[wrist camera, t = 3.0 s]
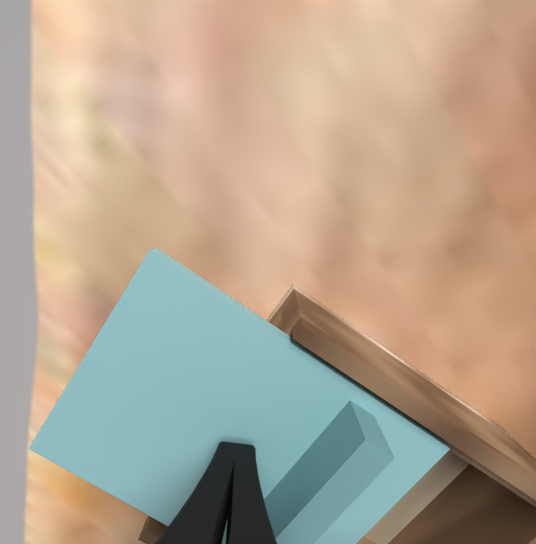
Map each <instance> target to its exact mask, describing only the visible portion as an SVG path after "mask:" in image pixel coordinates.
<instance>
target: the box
mask: <svg viewBox="0 0 536 544" xmlns="http://www.w3.org/2000/svg"><path fill="white" fill-rule="evenodd" d="M266 321H268V322H269V323H271V324H272V325H274V326H275V327H277V328H278V329H280V330H281V331H283V332H284V333H286V334H287V335H289V336H290V337H292V338H293V339H294V340H295V341H297V342H298V343H300V344H301V345H303V346H304V347H306V348H307V349H309V350H310V351H312V352H313V353H315V354H316V355H318V356H319V357H321V358H322V359H324V360H325V361H327V362H328V363H330V364H331V365H333V366H334V367H336V368H337V369H339V370H340V371H342V372H343V373H345V374H346V375H348V376H349V377H351V378H352V379H354V380H355V381H357V382H358V383H360V384H361V385H363V386H364V387H366V388H367V389H369V390H370V391H372V392H373V393H375V394H376V395H378V396H379V397H381V398H382V399H384V400H385V401H387V402H388V403H390V404H391V405H393V406H394V407H396V408H397V409H399V410H400V411H402V412H403V413H405V414H407V415H408V416H410V417H411V418H413V419H414V420H416V421H417V422H419V423H420V424H422V425H423V426H425V427H426V428H428V429H429V430H431V431H432V432H434V433H435V434H437V435H438V436H440V437H441V438H443V440H444V441H445V442H446V444H447V445H448V446H449V448H450V450H449V451H448V452H447V453H446V454H445V455H444V456H443V457H442V458H441V459H440V460H439V461H438V462H437V463H436V464H435V465H434V466H433V467H432V468H431V469H430V470H429V471H428V472H427V473H426V474H425V475H424V476H423V477H422V478H421V479H420V480H419V481H418V482H417V483H416V484H415V485H414V486H413V487H412V488H411V489H410V490H409V491H408V492H407V493H406V494H405V495H404V496H403V497H402V498H401V499H400V500H399V501H398V502H397V503H396V504H395V505H394V506H393V507H392V508H391V509H390V510H389V511H388V512H387V513H386V514H385V515H384V516H383V517H382V518H381V519H380V520H379V521H378V522H377V523H376V524H375V525H374V526H373V527H372V528H371V529H370V530H369V531H368V532H367V533H366V534H365V535H364V536H363V537H362V538H361V539H360V540H359V541H358V542H357V543H356V544H536V460H535V459H534V458H533V457H532V456H531V455H530V454H529V453H528V452H527V451H526V450H525V449H524V448H523V447H522V446H521V445H520V444H519V443H518V442H516V441H515V440H514V439H513V438H512V437H511V436H510V435H509V434H508V433H507V432H506V431H505V430H504V429H502V428H501V427H499V426H498V425H496V424H495V423H493V422H492V421H490V420H489V419H488V418H486V417H485V416H483V415H482V414H480V413H479V412H477V411H476V410H475V409H473V408H472V407H470V406H469V405H467V404H466V403H464V402H463V401H461V400H460V399H459V398H457V397H456V396H454V395H453V394H451V393H450V392H448V391H447V390H445V389H444V388H443V387H441V386H440V385H438V384H437V383H435V382H434V381H432V380H431V379H429V378H428V377H427V376H425V375H424V374H422V373H421V372H419V371H418V370H416V369H415V368H413V367H412V366H411V365H409V364H408V363H406V362H405V361H403V360H402V359H400V358H399V357H397V356H396V355H395V354H393V353H392V352H390V351H389V350H387V349H386V348H384V347H383V346H381V345H380V344H379V343H377V342H376V341H374V340H373V339H371V338H370V337H368V336H367V335H365V334H364V333H363V332H361V331H360V330H358V329H357V328H355V327H354V326H352V325H351V324H349V323H348V322H347V321H345V320H344V319H342V318H341V317H339V316H338V315H336V314H335V313H333V312H332V311H331V310H329V309H328V308H326V307H325V306H323V305H322V304H320V303H319V302H317V301H316V300H315V299H313V298H312V297H310V296H309V295H307V294H306V293H304V292H303V291H301V290H300V289H299V288H297V287H296V286H294V285H292V287H291V288H290V289H289V291H288V292H287V293H286V295H285V296H284V297H283V299H282V300H281V301H280V303H279V304H278V306H277V307H276V308H275V310H274V311H273V312H272V314H271V315H270V316H269V318H268V319H267V320H266ZM167 527H168V526H167V525H165V524H163V523H161V522H159V521H158V520H156V519H154V518H152V517H150V516H149V515H148V518H147V520H146V522H145V525H144V527H143V530H142V532H141V534H140V537H139V540H141V541H142V542H144V543H146V544H155V543H156V541H157V540H158V539H159V538H160V536H161V535H162V534H163V533H164V531H165V530H166V529H167Z"/></svg>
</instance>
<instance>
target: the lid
mask: <svg viewBox="0 0 536 544" xmlns="http://www.w3.org/2000/svg"><path fill="white" fill-rule="evenodd" d="M222 441H225V442H233V443H240V444H248V445H253V446H254V447H255V448H256V463H257V470H258V476H259V481H260V486H261V490H262V494H263V498H264V502H265V506H266V510H267V513H268V517H269V520H270V523H271V527H272V530H273V533H274V536H275V539H276V542H277V544H356V543H357V542H358V541H359V540H360V539H361V538H362V537H363V536H364V535H365V534H366V533H367V532H368V531H369V530H370V529H371V528H372V527H373V526H374V525H375V524H376V523H377V522H378V521H379V520H380V519H381V518H382V517H383V516H384V515H385V514H386V513H387V512H388V511H389V510H390V509H391V508H392V507H393V506H394V505H395V504H396V503H397V502H398V501H399V500H400V499H401V498H402V497H403V496H404V495H405V494H406V493H407V492H408V491H409V490H410V489H411V488H412V487H413V486H414V485H415V484H416V483H417V482H418V481H419V480H420V479H421V478H422V477H423V476H424V475H425V474H426V473H427V472H428V471H429V470H430V469H431V468H432V467H433V466H434V465H435V464H436V463H437V462H438V461H439V460H440V459H441V458H442V457H443V456H444V455H445V454H446V453H447V452H448V451H449V450H450V448H449V446H448V445H447V444H446V442H445V441H444V440H443V438H441V437H440V436H438V435H437V434H435V433H434V432H432V431H431V430H429V429H428V428H426V427H425V426H423V425H422V424H420V423H419V422H417V421H416V420H414V419H413V418H411V417H410V416H408V415H407V414H405V413H403V412H402V411H400V410H399V409H397V408H396V407H394V406H393V405H391V404H390V403H388V402H387V401H385V400H384V399H382V398H381V397H379V396H378V395H376V394H375V393H373V392H372V391H370V390H369V389H367V388H366V387H364V386H363V385H361V384H360V383H358V382H357V381H355V380H354V379H352V378H351V377H349V376H348V375H346V374H345V373H343V372H342V371H340V370H339V369H337V368H336V367H334V366H333V365H331V364H330V363H328V362H327V361H325V360H324V359H322V358H321V357H319V356H318V355H316V354H315V353H313V352H312V351H310V350H309V349H307V348H306V347H304V346H303V345H301V344H300V343H298V342H297V341H295V340H294V339H293V338H292V337H290V336H289V335H287V334H286V333H284V332H283V331H281V330H280V329H278V328H277V327H275V326H274V325H272V324H271V323H269V322H268V321H266V320H265V319H263V318H262V317H260V316H259V315H257V314H256V313H254V312H253V311H251V310H250V309H248V308H247V307H245V306H244V305H242V304H241V303H239V302H238V301H236V300H235V299H233V298H232V297H230V296H229V295H227V294H226V293H224V292H223V291H221V290H220V289H218V288H217V287H215V286H214V285H212V284H211V283H209V282H208V281H206V280H205V279H203V278H202V277H200V276H199V275H197V274H196V273H194V272H193V271H191V270H190V269H188V268H187V267H185V266H183V265H182V264H180V263H179V262H177V261H176V260H174V259H173V258H171V257H170V256H168V255H167V254H165V253H164V252H162V251H161V250H159V249H158V248H154V249H151V250H149V252H148V254H147V255H146V257H145V259H144V260H143V262H142V264H141V265H140V267H139V268H138V270H137V272H136V273H135V275H134V277H133V278H132V280H131V282H130V283H129V285H128V286H127V288H126V290H125V291H124V293H123V295H122V296H121V298H120V300H119V301H118V303H117V305H116V306H115V308H114V309H113V311H112V313H111V314H110V316H109V318H108V319H107V321H106V323H105V324H104V326H103V328H102V329H101V331H100V332H99V334H98V336H97V337H96V339H95V341H94V342H93V344H92V346H91V347H90V349H89V350H88V352H87V354H86V355H85V357H84V359H83V360H82V362H81V364H80V365H79V367H78V369H77V370H76V372H75V373H74V375H73V377H72V378H71V380H70V382H69V383H68V385H67V387H66V388H65V390H64V391H63V393H62V395H61V396H60V398H59V400H58V401H57V403H56V405H55V406H54V408H53V410H52V411H51V413H50V414H49V416H48V418H47V419H46V421H45V423H44V424H43V426H42V428H41V429H40V431H39V432H38V434H37V436H36V437H35V439H34V441H33V442H32V444H31V446H30V447H29V449H30V450H32V451H34V452H36V453H37V454H39V455H41V456H43V457H45V458H46V459H48V460H50V461H52V462H54V463H55V464H57V465H59V466H61V467H62V468H64V469H66V470H68V471H70V472H71V473H73V474H75V475H77V476H79V477H80V478H82V479H84V480H86V481H88V482H89V483H91V484H93V485H95V486H97V487H98V488H100V489H102V490H104V491H106V492H107V493H109V494H111V495H113V496H115V497H116V498H118V499H120V500H122V501H123V502H125V503H127V504H129V505H131V506H132V507H134V508H136V509H138V510H140V511H141V512H143V513H145V514H147V515H149V516H150V517H152V518H154V519H156V520H158V521H159V522H161V523H163V524H165V525H167V526H169V525H170V524H171V522H172V521H173V519H174V518H175V517H176V515H177V514H178V513H179V511H180V510H181V508H182V507H183V505H184V504H185V502H186V501H187V500H188V498H189V497H190V495H191V494H192V492H193V491H194V489H195V487H196V486H197V484H198V482H199V481H200V479H201V478H202V476H203V474H204V473H205V471H206V469H207V467H208V465H209V464H210V462H211V460H212V458H213V456H214V454H215V452H216V449H217V447H218V444H219V443H220V442H222ZM226 532H227V523H226V527H225V532H224V536H223V540H222V544H226Z"/></svg>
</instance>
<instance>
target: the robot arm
mask: <svg viewBox="0 0 536 544" xmlns="http://www.w3.org/2000/svg"><path fill="white" fill-rule="evenodd" d="M226 523H227V532H226V544H277V542H276V539H275V536H274V533H273V530H272V527H271V523H270V520H269V517H268V513H267V510H266V506H265V502H264V498H263V494H262V490H261V486H260V481H259V476H258V470H257V463H256V448H255V447H254V446H253V445H248V444H240V443H233V442H225V441H222V442H220V443H219V444H218V447H217V449H216V452H215V454H214V456H213V458H212V460H211V462H210V464H209V465H208V467H207V469H206V471H205V473H204V474H203V476H202V478H201V479H200V481H199V482H198V484H197V486H196V487H195V489H194V491H193V492H192V494H191V495H190V497H189V498H188V500H187V501H186V502H185V504H184V505H183V507H182V508H181V510H180V511H179V513H178V514H177V515H176V517H175V518H174V519H173V521H172V522H171V524H170V525H169V526H168V527H167V529H166V530H165V531H164V533H163V534H162V535H161V536H160V538H159V539H158V540H157V541H156V543H155V544H222V540H223V536H224V532H225V527H226Z"/></svg>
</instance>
